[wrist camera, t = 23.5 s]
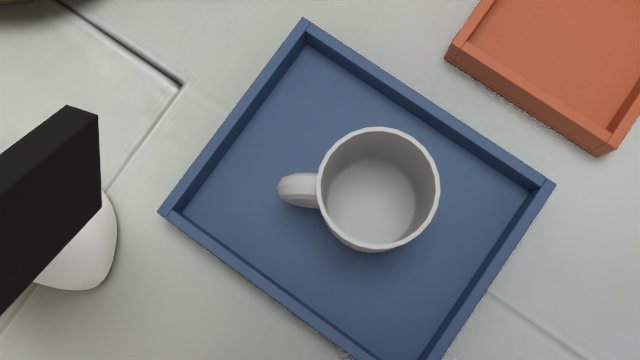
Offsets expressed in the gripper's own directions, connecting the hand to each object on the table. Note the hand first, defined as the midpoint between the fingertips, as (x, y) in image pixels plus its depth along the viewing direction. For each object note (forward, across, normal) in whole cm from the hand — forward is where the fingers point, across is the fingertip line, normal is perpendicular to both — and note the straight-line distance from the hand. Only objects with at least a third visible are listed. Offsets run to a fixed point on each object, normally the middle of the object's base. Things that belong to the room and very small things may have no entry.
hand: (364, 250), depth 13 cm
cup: (+24, -1, -18) cm, 30 cm away
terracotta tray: (+36, +10, -6) cm, 38 cm away
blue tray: (+24, -1, -18) cm, 30 cm away
